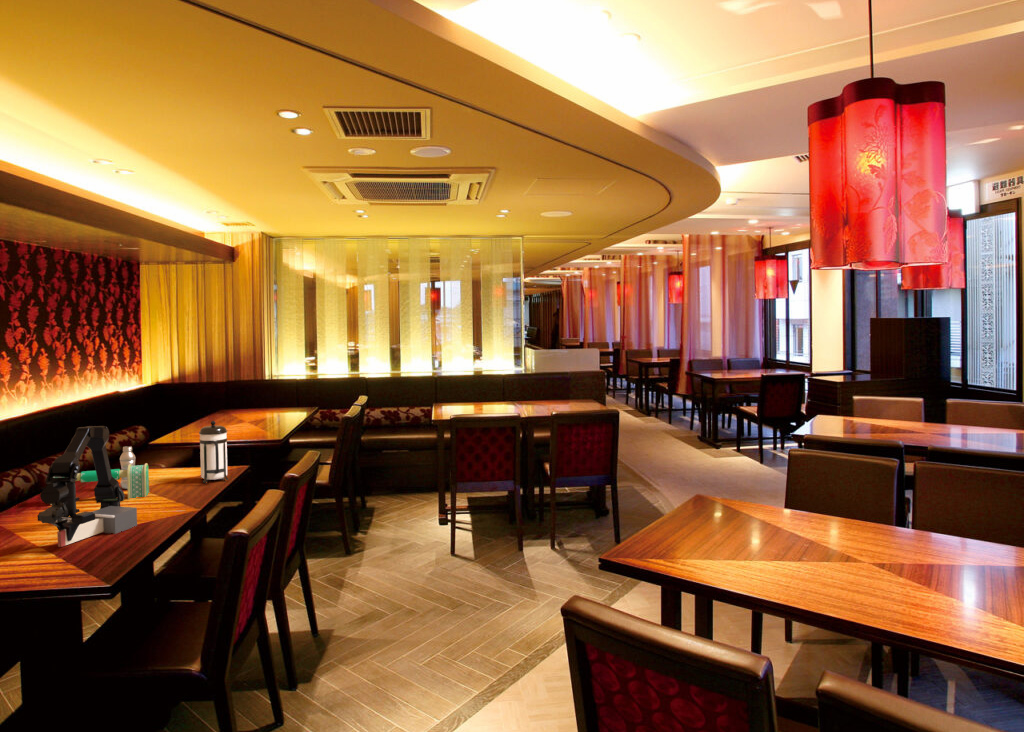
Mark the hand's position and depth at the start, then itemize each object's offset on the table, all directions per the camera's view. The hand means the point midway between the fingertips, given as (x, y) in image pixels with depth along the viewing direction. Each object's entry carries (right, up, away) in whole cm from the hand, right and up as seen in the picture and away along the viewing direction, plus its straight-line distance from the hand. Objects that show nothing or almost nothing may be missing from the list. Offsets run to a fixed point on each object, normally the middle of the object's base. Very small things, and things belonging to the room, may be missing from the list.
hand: (67, 540), depth 219 cm
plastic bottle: (-27, +2, +80) cm, 84 cm away
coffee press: (+6, +3, +96) cm, 96 cm away
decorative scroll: (-27, +1, +60) cm, 66 cm away
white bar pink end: (+1, -1, +6) cm, 7 cm away
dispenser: (+4, -1, +18) cm, 18 cm away
